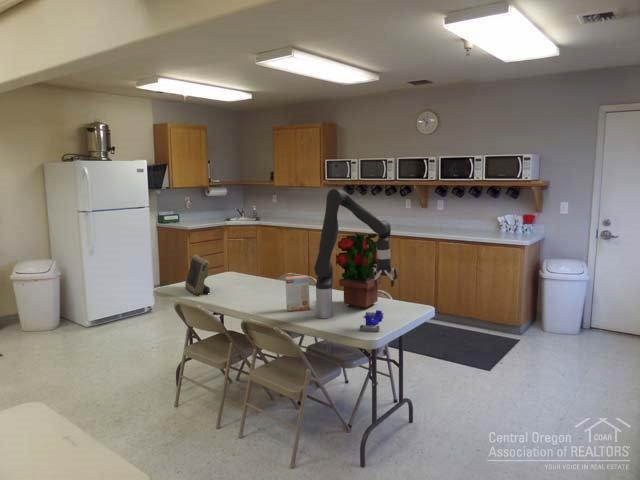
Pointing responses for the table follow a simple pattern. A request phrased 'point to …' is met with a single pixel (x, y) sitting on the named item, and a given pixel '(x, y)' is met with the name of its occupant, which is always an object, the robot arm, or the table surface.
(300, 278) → the cracker box
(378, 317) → the cable clip
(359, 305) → the potted plant
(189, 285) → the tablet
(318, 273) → the robot arm
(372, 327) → the label stands
